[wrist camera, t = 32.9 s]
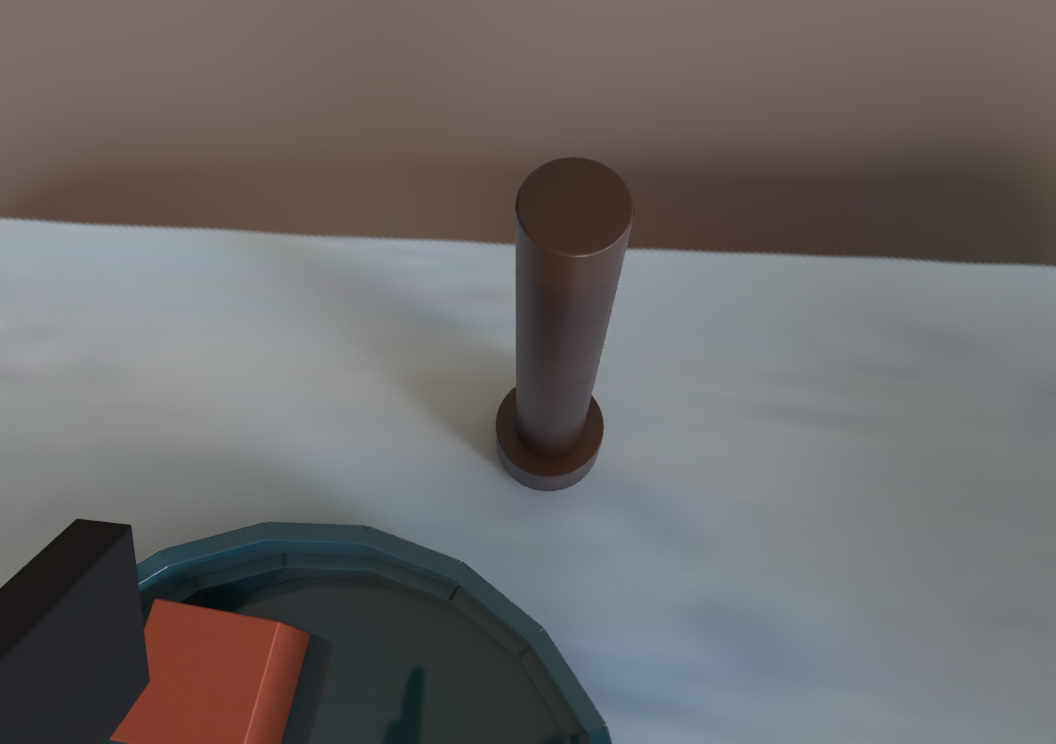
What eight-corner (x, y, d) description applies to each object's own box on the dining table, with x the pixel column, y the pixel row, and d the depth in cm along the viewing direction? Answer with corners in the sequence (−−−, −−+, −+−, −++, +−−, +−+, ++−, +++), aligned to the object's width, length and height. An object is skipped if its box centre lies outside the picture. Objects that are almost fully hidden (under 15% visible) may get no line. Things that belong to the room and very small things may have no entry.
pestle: (619, 443, 32) (710, 207, 17) (546, 512, 30) (574, 325, 16) (548, 375, 33) (574, 98, 18) (476, 439, 32) (440, 200, 17)
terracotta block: (277, 758, 26) (239, 765, 23) (161, 735, 27) (104, 738, 23) (310, 633, 28) (280, 621, 24) (201, 612, 28) (154, 597, 25)
